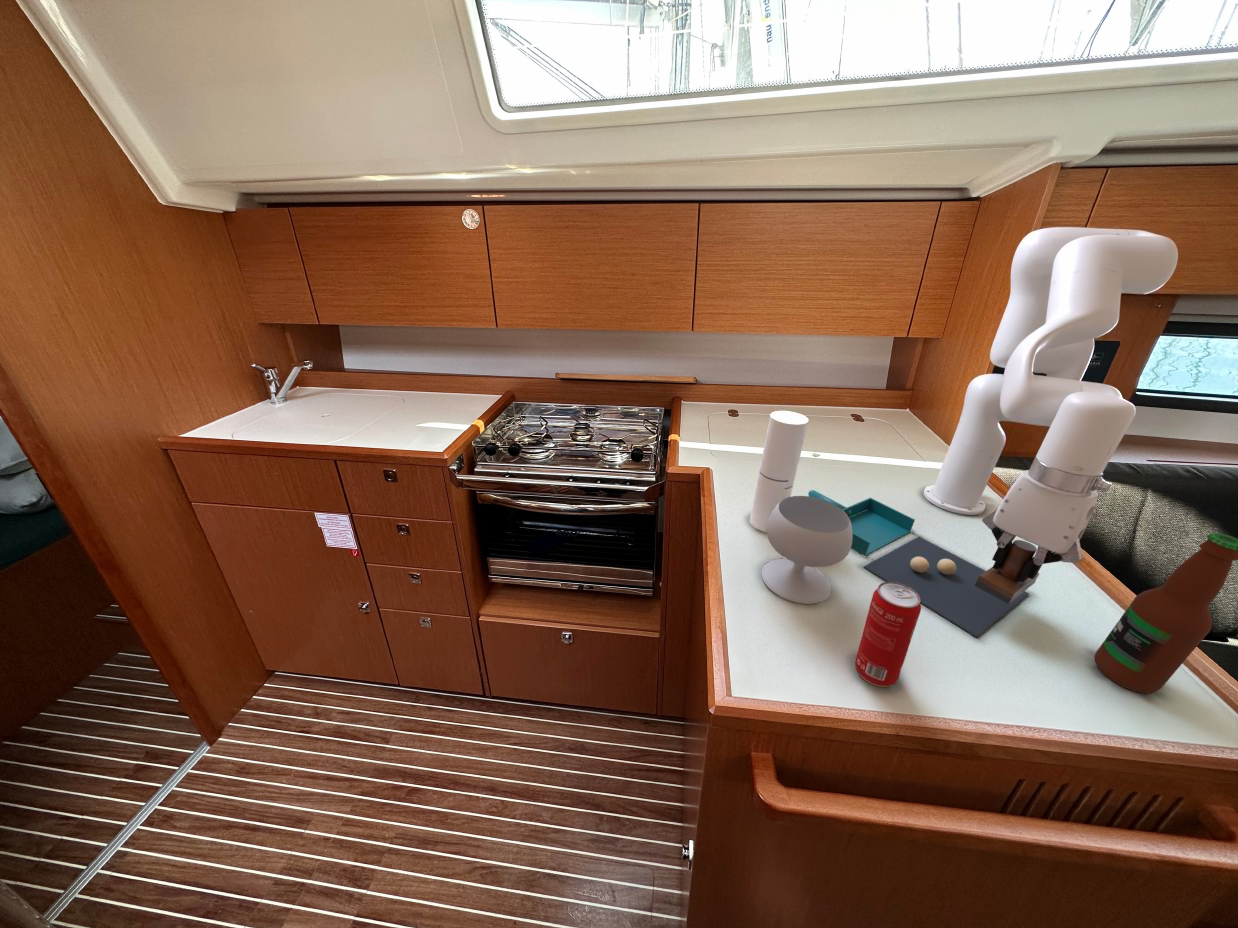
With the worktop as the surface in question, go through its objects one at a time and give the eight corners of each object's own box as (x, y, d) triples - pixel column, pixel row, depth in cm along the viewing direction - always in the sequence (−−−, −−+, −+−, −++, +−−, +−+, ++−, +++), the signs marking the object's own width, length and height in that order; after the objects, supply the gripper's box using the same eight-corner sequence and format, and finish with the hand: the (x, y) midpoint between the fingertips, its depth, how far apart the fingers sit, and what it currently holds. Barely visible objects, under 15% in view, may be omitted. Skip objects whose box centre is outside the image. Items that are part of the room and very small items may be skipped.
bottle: (1095, 646, 75) (1187, 516, 64) (1159, 677, 70) (1272, 542, 59) (1087, 671, 71) (1185, 536, 59) (1156, 705, 66) (1276, 565, 55)
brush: (1000, 567, 84) (1020, 529, 80) (1034, 583, 80) (1056, 544, 76) (974, 585, 79) (993, 546, 75) (1008, 604, 75) (1030, 563, 72)
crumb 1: (913, 563, 92) (918, 551, 91) (928, 572, 90) (934, 560, 88) (904, 568, 91) (909, 556, 89) (920, 577, 88) (925, 565, 87)
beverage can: (902, 692, 66) (938, 614, 60) (853, 683, 67) (883, 605, 61) (889, 659, 72) (921, 583, 65) (844, 651, 73) (871, 575, 66)
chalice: (741, 565, 90) (754, 499, 83) (799, 551, 95) (816, 487, 88) (789, 617, 78) (809, 544, 72) (853, 598, 83) (877, 528, 76)
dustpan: (910, 532, 102) (915, 519, 101) (864, 556, 94) (869, 542, 93) (829, 490, 117) (832, 478, 116) (784, 507, 109) (787, 495, 108)
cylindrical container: (745, 514, 106) (765, 410, 95) (775, 513, 107) (799, 410, 95) (756, 533, 100) (778, 424, 88) (788, 532, 100) (815, 424, 89)
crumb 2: (939, 565, 92) (945, 553, 90) (956, 574, 89) (961, 562, 88) (931, 570, 90) (937, 558, 89) (948, 580, 88) (953, 567, 87)
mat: (918, 537, 101) (918, 536, 100) (1028, 594, 86) (1029, 593, 86) (863, 567, 91) (863, 566, 91) (976, 637, 76) (977, 636, 76)
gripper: (1144, 494, 66) (1080, 594, 74) (1009, 450, 78) (968, 540, 86) (1127, 507, 62) (1062, 611, 70) (989, 459, 74) (947, 552, 83)
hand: (1011, 571), depth 78 cm, fingers closed on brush, 3 cm apart
